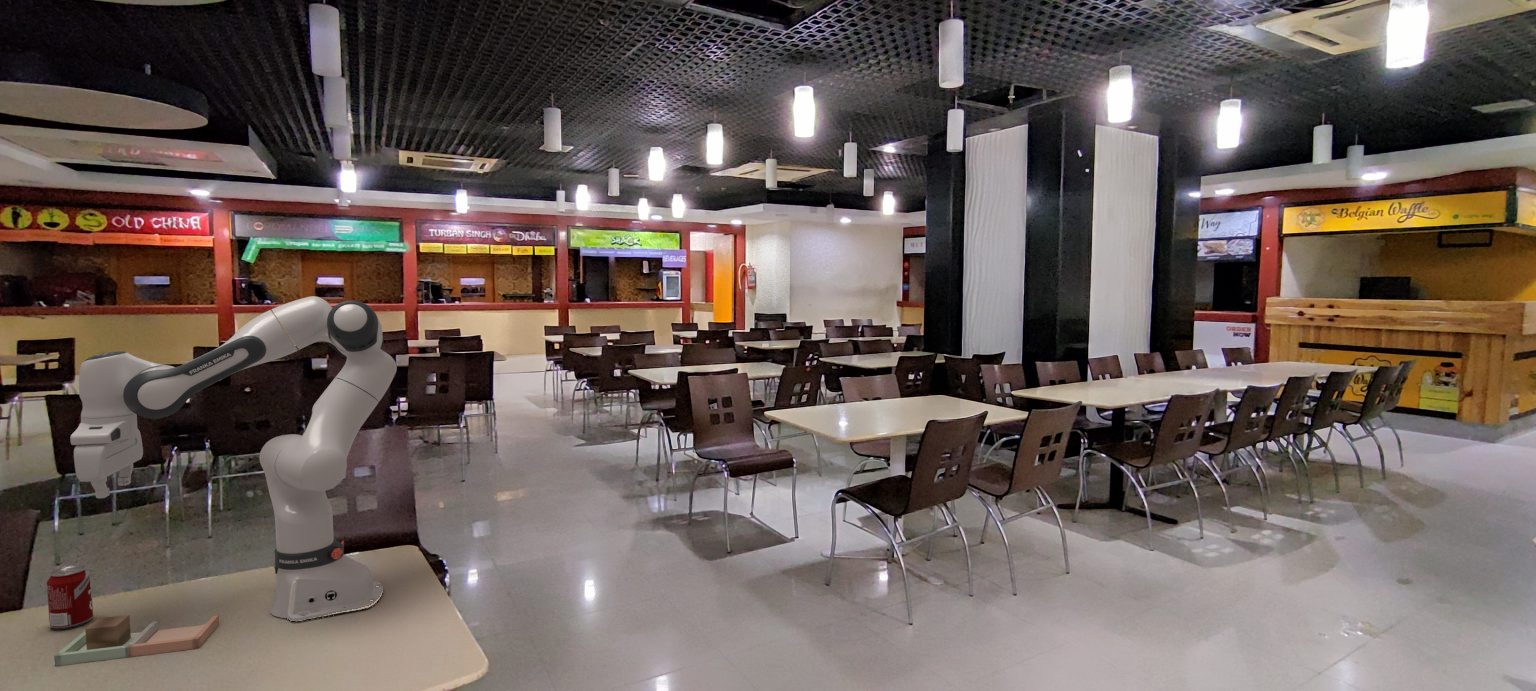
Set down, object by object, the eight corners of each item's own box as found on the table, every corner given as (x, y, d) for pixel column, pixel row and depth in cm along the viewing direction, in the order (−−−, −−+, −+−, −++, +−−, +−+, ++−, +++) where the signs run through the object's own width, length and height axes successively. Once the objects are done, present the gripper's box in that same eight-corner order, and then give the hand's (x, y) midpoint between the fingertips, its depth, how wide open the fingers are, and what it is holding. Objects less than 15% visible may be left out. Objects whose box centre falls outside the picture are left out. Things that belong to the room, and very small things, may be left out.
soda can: (66, 632, 152) (62, 577, 151) (41, 629, 153) (37, 574, 152) (101, 618, 158) (98, 565, 157) (77, 614, 160) (73, 562, 159)
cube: (130, 637, 150) (129, 614, 149) (117, 649, 145) (116, 625, 145) (100, 641, 148) (99, 617, 148) (86, 653, 144) (85, 629, 143)
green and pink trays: (219, 623, 157) (218, 614, 157) (198, 648, 147) (198, 638, 147) (86, 638, 149) (86, 629, 149) (54, 666, 139) (54, 656, 139)
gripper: (115, 419, 163) (119, 479, 164) (65, 438, 144) (69, 506, 145) (150, 418, 165) (153, 477, 167) (104, 436, 146) (109, 503, 147)
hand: (114, 490), depth 156 cm, fingers open, 8 cm apart
